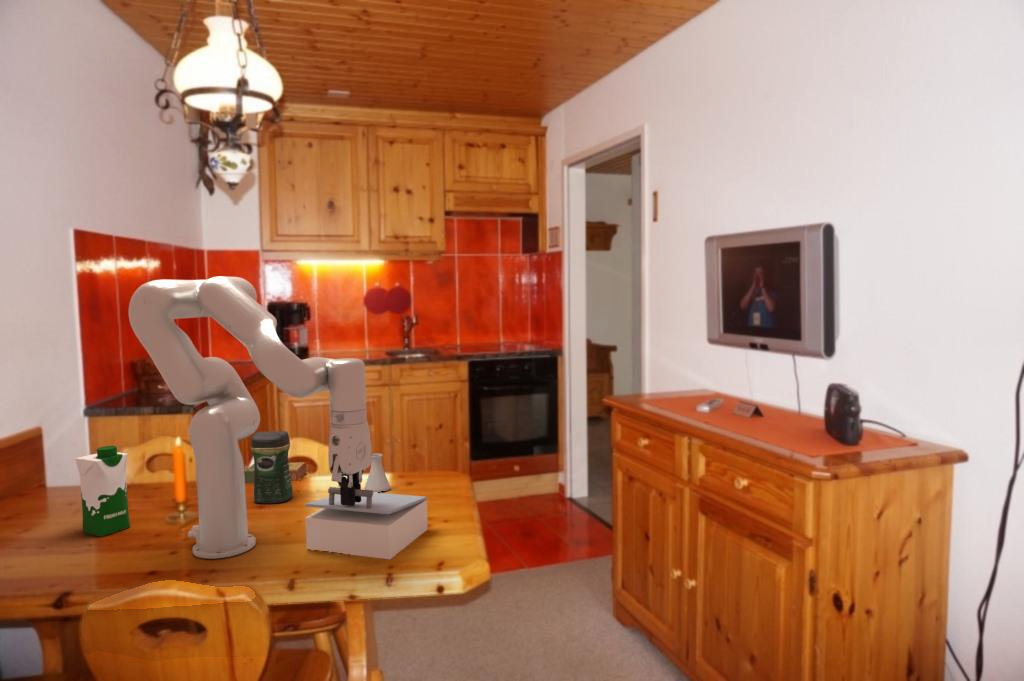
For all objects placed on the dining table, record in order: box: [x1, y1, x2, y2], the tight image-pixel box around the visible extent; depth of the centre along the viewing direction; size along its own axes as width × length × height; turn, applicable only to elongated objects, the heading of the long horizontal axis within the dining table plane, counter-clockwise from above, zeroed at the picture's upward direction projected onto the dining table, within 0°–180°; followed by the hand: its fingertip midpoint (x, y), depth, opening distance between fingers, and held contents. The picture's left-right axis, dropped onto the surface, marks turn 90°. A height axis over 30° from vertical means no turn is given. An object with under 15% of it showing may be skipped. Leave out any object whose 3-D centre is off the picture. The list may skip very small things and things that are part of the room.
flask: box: [363, 453, 392, 493], centre depth 187 cm, size 7×7×10 cm
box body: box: [304, 499, 428, 560], centre depth 150 cm, size 20×18×7 cm
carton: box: [244, 461, 308, 484], centre depth 201 cm, size 8×16×4 cm, turn 91°
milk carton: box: [75, 445, 131, 538], centre depth 158 cm, size 9×9×20 cm
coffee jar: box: [250, 430, 294, 504], centre depth 180 cm, size 10×8×19 cm
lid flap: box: [304, 486, 428, 514], centre depth 149 cm, size 20×18×4 cm
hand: (351, 502), depth 143 cm, fingers closed
